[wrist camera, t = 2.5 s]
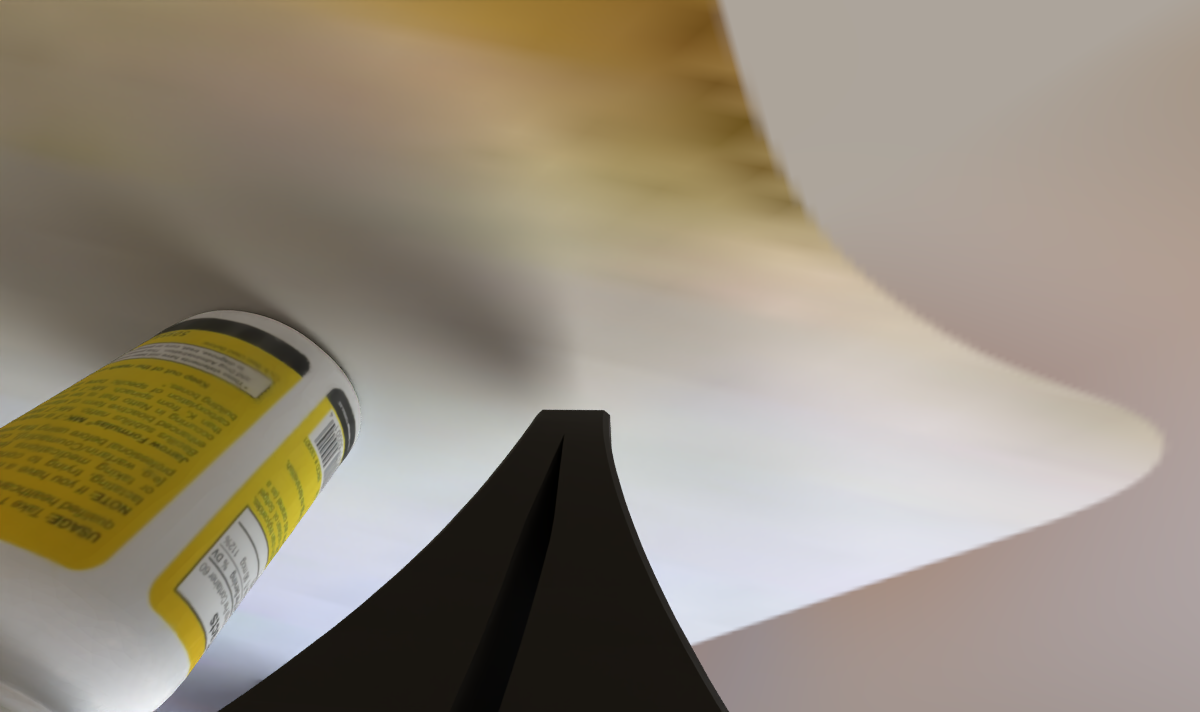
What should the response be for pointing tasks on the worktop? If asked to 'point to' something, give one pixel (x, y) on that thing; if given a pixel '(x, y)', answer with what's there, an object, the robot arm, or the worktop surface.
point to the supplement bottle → (157, 506)
